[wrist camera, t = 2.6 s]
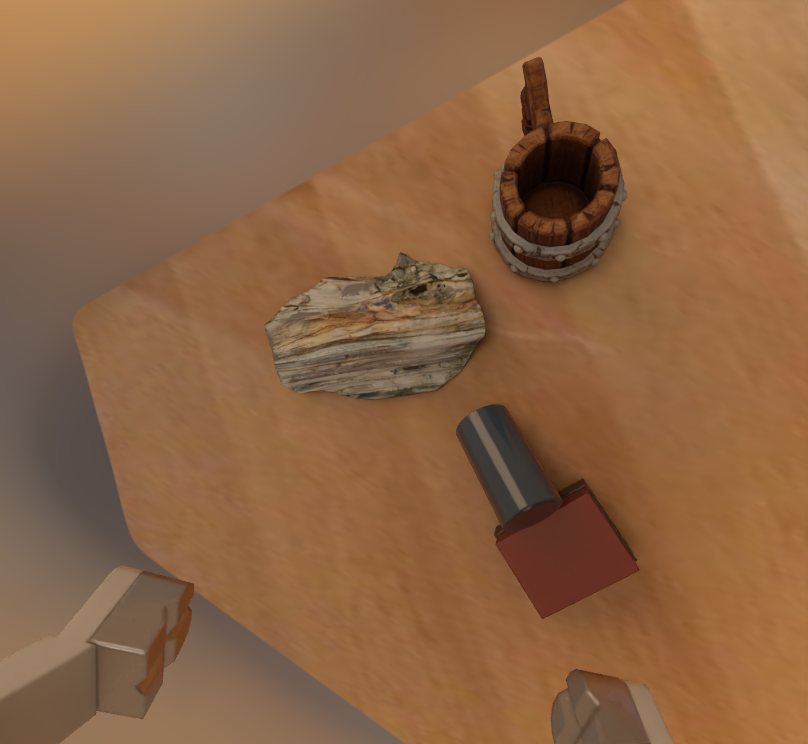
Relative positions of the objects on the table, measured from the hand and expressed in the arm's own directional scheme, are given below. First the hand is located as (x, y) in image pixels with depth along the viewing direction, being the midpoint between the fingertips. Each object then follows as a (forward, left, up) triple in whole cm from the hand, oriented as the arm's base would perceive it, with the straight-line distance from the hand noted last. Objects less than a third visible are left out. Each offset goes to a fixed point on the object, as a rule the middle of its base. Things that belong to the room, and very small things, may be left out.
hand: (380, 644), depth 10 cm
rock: (+16, -5, -39) cm, 43 cm away
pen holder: (+2, -1, -37) cm, 37 cm away
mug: (+4, -22, -39) cm, 45 cm away
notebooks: (-9, +7, -39) cm, 41 cm away
